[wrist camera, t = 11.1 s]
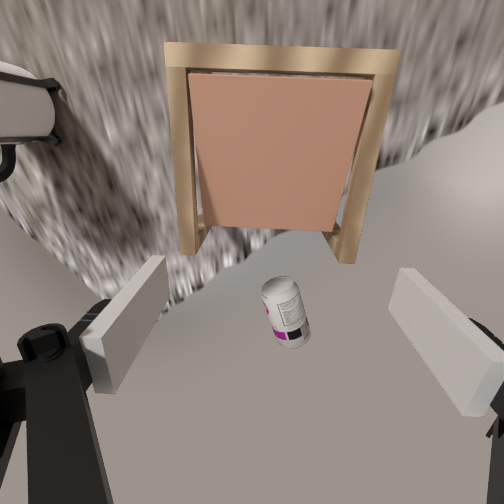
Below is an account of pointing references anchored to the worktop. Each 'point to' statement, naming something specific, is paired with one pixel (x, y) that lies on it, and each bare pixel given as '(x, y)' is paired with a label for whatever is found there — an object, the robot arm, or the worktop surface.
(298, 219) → the trapdoor
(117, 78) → the worktop surface
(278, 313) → the supplement can
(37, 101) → the coffee press
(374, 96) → the trapdoor frame
